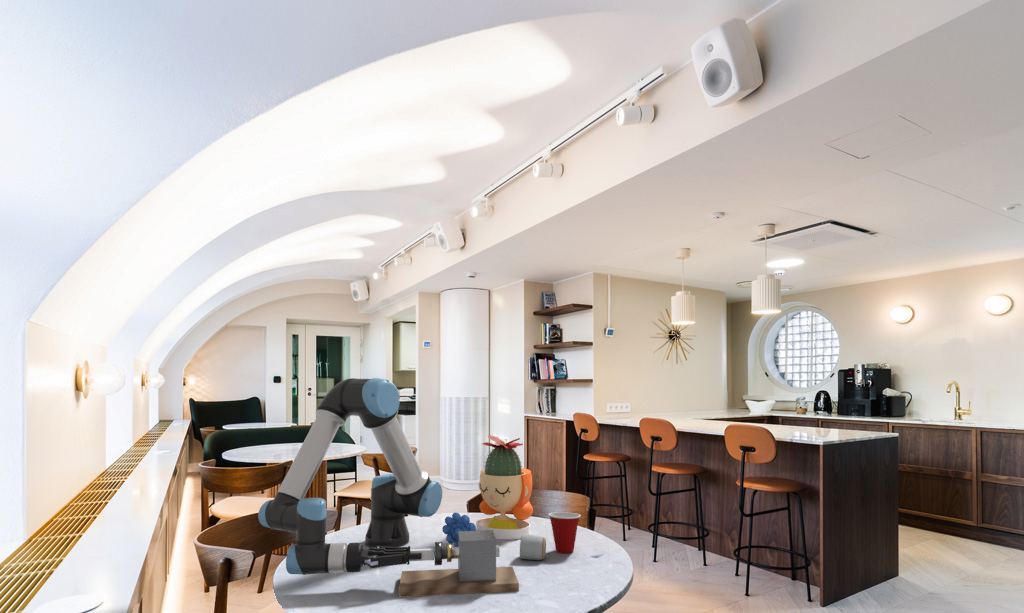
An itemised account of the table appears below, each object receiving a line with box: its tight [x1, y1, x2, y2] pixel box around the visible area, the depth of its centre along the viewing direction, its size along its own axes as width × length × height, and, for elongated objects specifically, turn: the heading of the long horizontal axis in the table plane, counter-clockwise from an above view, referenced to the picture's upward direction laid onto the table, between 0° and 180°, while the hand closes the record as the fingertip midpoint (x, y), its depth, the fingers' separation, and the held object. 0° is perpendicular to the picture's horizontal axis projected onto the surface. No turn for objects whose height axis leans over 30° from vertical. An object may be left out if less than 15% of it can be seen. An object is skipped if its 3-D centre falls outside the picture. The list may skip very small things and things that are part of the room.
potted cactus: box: [475, 435, 534, 540], centre depth 220 cm, size 22×22×35 cm
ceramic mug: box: [519, 534, 547, 561], centre depth 187 cm, size 10×8×7 cm
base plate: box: [398, 566, 520, 598], centre depth 163 cm, size 32×14×2 cm, turn 97°
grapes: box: [442, 511, 476, 547], centre depth 195 cm, size 12×7×12 cm, turn 88°
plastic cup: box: [548, 511, 582, 554], centre depth 194 cm, size 11×11×12 cm
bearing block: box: [457, 530, 497, 583], centre depth 164 cm, size 10×10×11 cm
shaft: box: [434, 541, 501, 566], centre depth 164 cm, size 18×6×6 cm, turn 97°
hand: (433, 554), depth 162 cm, fingers closed
